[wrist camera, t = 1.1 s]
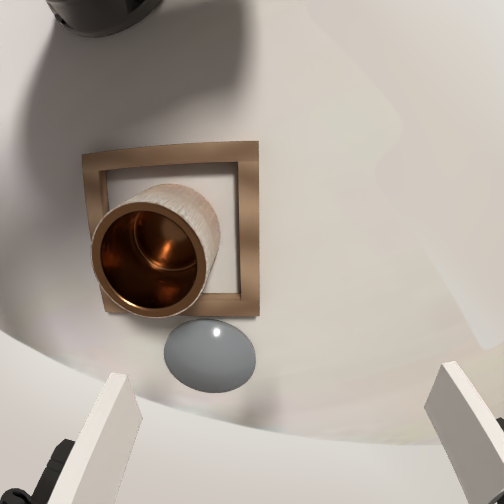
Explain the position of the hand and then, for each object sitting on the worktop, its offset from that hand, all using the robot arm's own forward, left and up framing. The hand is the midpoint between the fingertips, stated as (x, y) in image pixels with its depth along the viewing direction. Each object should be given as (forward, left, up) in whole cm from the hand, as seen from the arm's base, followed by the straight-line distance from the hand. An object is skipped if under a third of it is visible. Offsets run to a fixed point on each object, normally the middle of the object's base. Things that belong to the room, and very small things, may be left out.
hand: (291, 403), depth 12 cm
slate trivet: (+17, -8, -24) cm, 31 cm away
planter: (0, -11, -24) cm, 27 cm away
